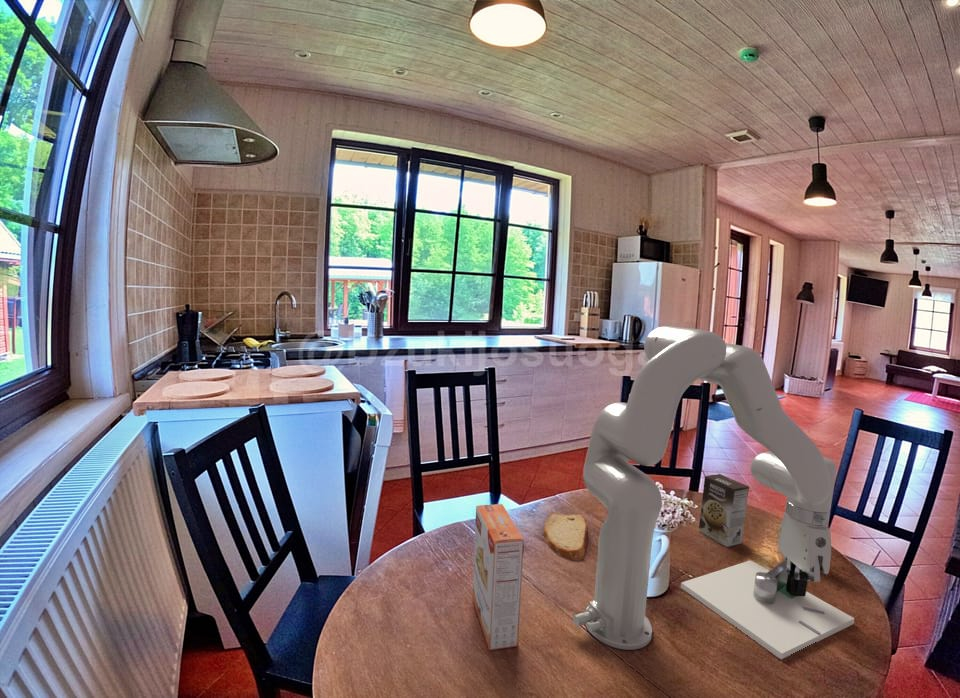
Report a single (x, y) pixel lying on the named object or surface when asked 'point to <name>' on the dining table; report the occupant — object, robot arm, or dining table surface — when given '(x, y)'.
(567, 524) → the slice of bread
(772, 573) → the tuning lever
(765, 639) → the white flat board
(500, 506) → the cracker box
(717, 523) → the cookie box
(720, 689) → the dining table surface
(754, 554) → the dining table surface
